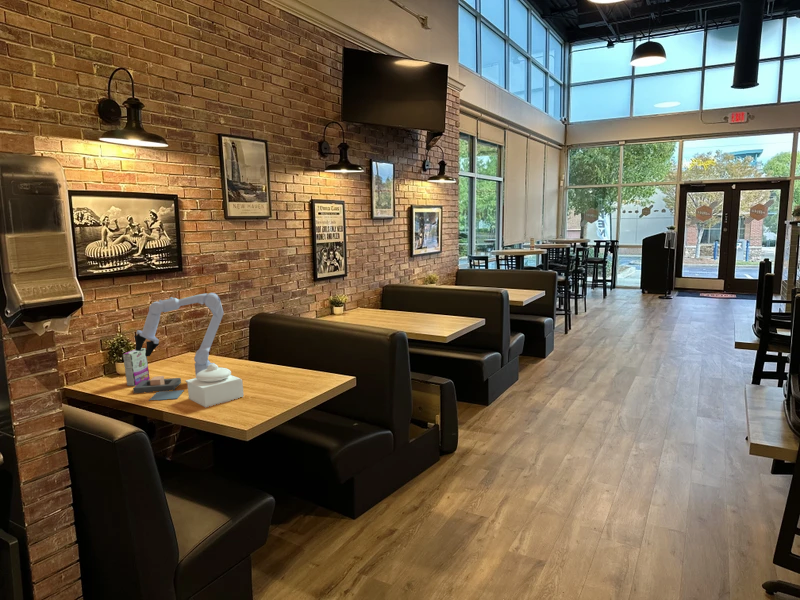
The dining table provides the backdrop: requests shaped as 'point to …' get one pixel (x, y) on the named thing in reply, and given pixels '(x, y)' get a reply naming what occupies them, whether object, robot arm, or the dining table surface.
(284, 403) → the dining table surface
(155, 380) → the coral block
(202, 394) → the white domed box
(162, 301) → the robot arm
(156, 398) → the rubber mat
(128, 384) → the candy bar box
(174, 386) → the dark grey tray
